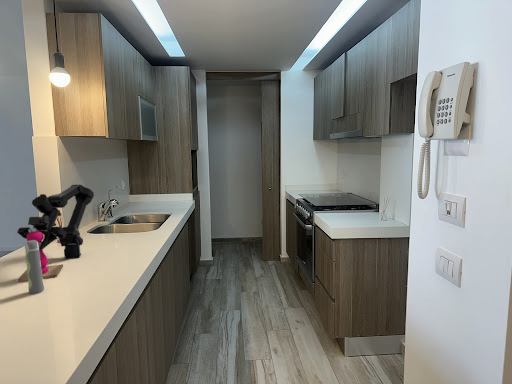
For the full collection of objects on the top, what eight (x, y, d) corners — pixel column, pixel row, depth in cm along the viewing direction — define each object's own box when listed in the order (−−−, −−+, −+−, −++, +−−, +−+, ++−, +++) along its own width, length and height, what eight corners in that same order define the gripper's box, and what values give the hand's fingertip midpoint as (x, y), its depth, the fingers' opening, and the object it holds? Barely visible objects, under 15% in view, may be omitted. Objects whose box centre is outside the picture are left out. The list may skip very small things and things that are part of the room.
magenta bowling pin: (51, 268, 146) (45, 225, 143) (47, 274, 140) (41, 229, 136) (32, 270, 144) (26, 226, 140) (27, 277, 137) (21, 231, 134)
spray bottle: (41, 287, 128) (36, 238, 126) (46, 291, 125) (40, 240, 123) (27, 292, 124) (21, 241, 122) (31, 295, 121) (25, 243, 119)
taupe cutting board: (63, 266, 152) (62, 264, 152) (56, 277, 139) (56, 274, 139) (27, 271, 147) (27, 268, 147) (17, 282, 134) (17, 279, 134)
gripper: (17, 209, 142) (0, 240, 132) (59, 208, 141) (45, 240, 132) (32, 223, 151) (17, 253, 141) (72, 222, 150) (59, 253, 141)
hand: (34, 249), depth 139 cm, fingers closed on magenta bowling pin, 5 cm apart
